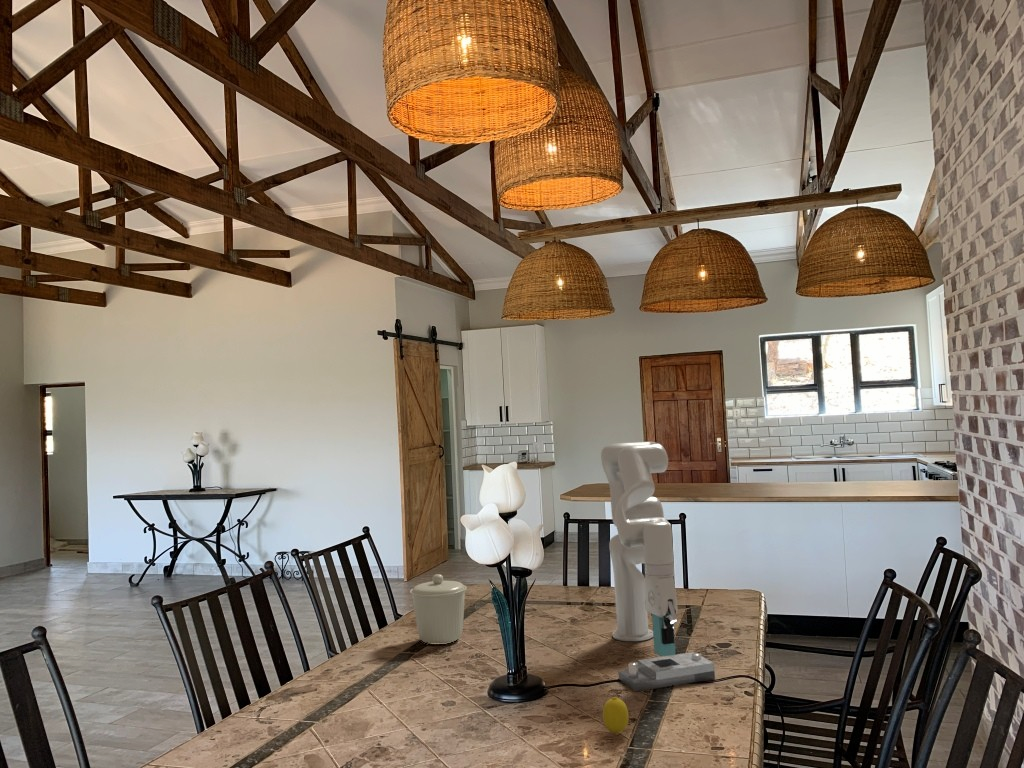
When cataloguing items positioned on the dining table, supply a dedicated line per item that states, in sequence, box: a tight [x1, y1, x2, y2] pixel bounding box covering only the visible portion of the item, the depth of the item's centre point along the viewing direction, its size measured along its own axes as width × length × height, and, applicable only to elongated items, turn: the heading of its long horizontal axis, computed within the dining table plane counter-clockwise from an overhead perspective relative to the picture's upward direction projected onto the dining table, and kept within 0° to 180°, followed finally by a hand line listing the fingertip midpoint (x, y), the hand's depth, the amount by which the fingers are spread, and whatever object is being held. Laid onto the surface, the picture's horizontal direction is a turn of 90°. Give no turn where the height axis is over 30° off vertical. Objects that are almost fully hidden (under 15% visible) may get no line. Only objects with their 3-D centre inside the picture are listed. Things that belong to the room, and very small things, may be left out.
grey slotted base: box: [617, 651, 716, 692], centre depth 205 cm, size 11×22×5 cm, turn 106°
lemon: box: [602, 696, 630, 736], centre depth 171 cm, size 6×6×8 cm
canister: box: [409, 573, 468, 643], centre depth 253 cm, size 18×18×21 cm
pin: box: [651, 613, 676, 657], centre depth 205 cm, size 4×4×10 cm
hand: (664, 640), depth 205 cm, fingers closed on pin, 4 cm apart
